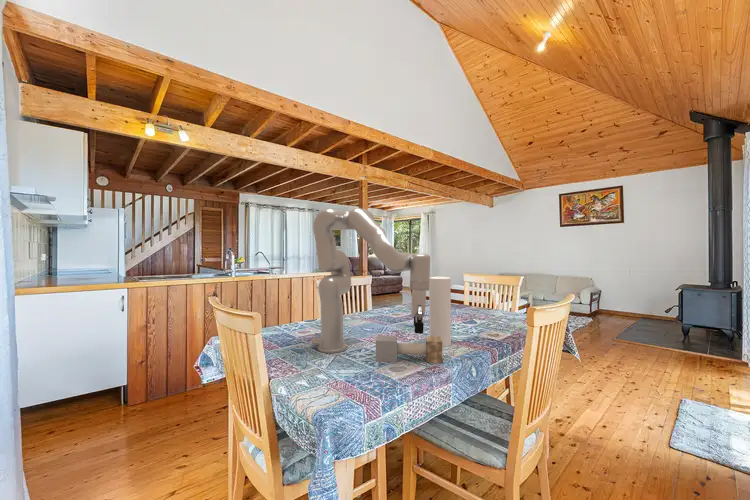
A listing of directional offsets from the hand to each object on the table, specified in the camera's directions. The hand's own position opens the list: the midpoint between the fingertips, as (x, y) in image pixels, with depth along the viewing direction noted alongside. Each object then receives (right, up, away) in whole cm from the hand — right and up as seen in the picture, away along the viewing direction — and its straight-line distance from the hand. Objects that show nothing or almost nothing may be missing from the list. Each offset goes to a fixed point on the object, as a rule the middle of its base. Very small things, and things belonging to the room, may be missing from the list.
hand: (418, 329), depth 126 cm
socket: (+6, -11, -1) cm, 13 cm away
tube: (-2, -10, 0) cm, 10 cm away
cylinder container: (+13, -11, +20) cm, 26 cm away
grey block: (-12, -12, +1) cm, 17 cm away
